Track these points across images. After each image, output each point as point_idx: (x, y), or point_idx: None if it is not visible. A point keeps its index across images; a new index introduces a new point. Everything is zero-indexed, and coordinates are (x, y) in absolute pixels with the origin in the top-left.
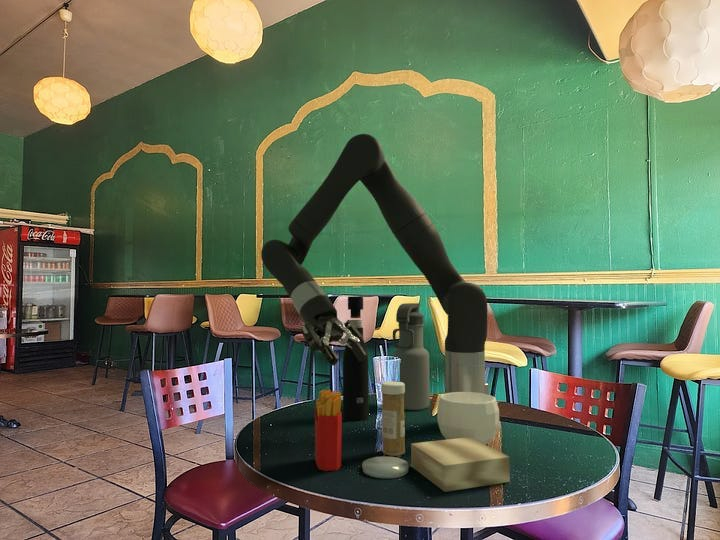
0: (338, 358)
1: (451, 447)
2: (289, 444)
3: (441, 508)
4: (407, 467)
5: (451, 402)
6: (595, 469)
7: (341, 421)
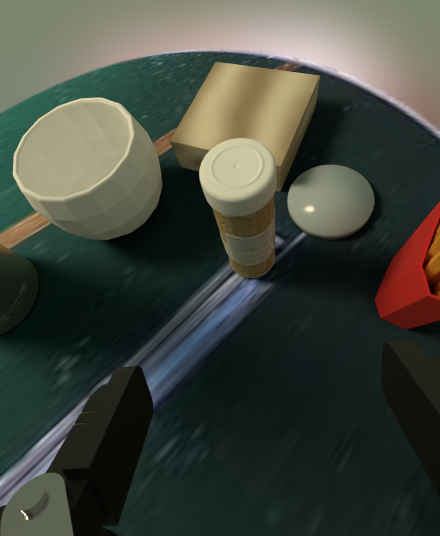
0: (387, 342)
1: (242, 120)
2: (427, 489)
3: (356, 82)
4: (307, 171)
5: (135, 136)
6: (111, 73)
7: (438, 203)
